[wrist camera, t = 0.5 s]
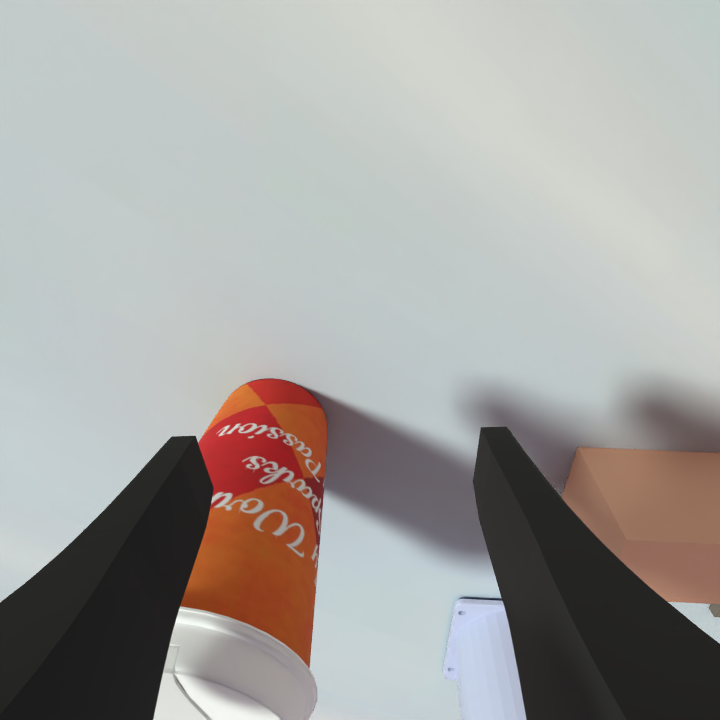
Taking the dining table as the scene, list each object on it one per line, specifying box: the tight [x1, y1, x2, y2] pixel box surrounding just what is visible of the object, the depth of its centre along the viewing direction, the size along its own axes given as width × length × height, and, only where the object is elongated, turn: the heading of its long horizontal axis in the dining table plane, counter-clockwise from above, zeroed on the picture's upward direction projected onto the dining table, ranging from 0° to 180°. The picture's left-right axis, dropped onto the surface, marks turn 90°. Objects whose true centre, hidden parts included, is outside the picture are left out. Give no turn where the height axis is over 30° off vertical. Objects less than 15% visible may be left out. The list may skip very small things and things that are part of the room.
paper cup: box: [153, 379, 327, 720], centre depth 19 cm, size 8×8×14 cm
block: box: [562, 447, 720, 604], centre depth 23 cm, size 10×4×6 cm, turn 89°
